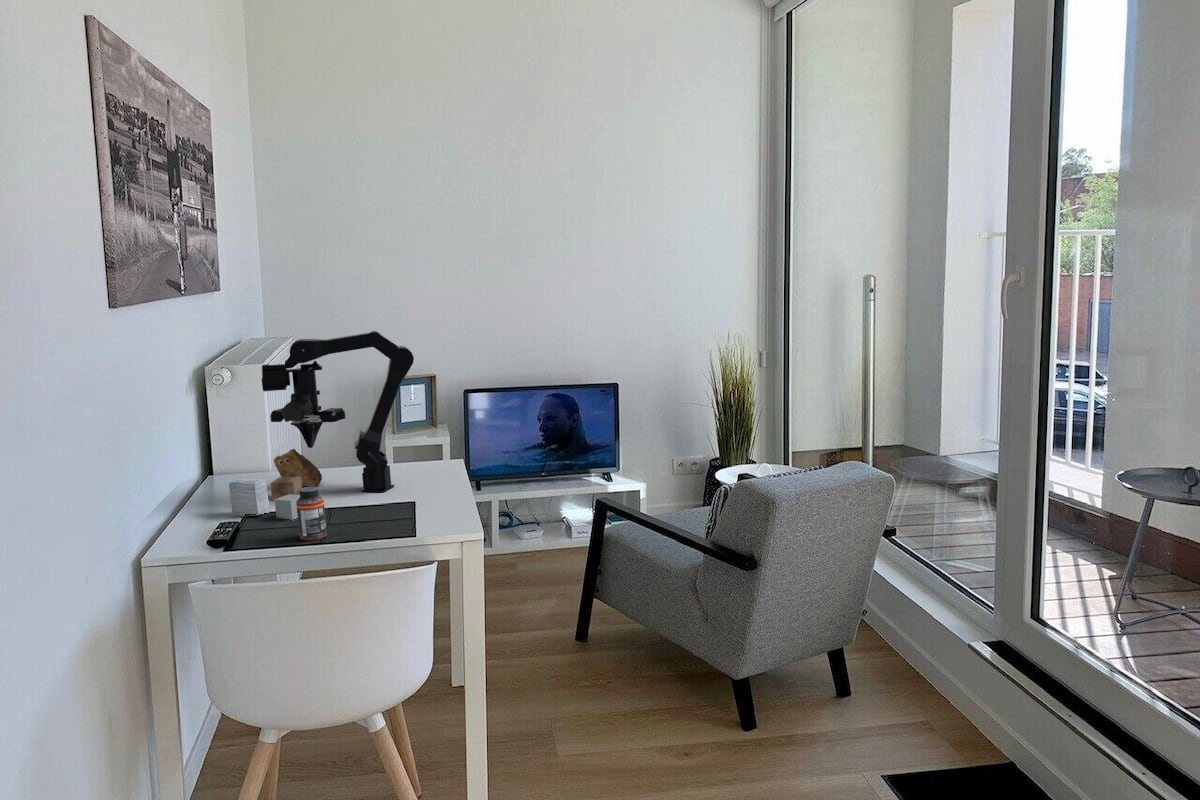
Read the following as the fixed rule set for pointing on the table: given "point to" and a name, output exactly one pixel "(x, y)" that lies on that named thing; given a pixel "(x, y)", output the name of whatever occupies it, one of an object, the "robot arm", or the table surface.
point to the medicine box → (249, 496)
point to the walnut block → (285, 486)
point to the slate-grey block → (287, 506)
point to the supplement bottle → (311, 514)
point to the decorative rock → (298, 468)
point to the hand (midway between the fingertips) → (310, 447)
